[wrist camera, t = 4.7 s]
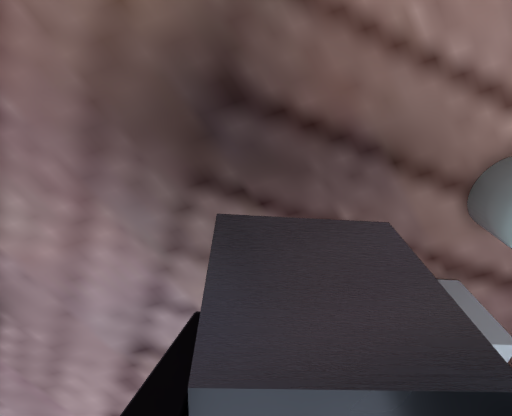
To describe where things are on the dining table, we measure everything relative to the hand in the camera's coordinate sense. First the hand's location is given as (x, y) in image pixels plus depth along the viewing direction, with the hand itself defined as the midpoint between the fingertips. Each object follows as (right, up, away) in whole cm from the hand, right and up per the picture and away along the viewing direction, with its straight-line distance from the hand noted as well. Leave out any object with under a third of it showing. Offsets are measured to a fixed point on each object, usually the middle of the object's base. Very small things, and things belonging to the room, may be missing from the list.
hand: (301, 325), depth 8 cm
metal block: (0, +1, +1) cm, 2 cm away
